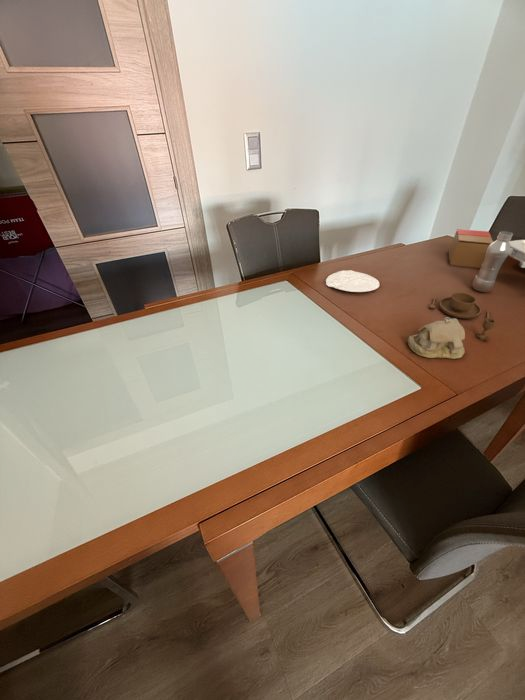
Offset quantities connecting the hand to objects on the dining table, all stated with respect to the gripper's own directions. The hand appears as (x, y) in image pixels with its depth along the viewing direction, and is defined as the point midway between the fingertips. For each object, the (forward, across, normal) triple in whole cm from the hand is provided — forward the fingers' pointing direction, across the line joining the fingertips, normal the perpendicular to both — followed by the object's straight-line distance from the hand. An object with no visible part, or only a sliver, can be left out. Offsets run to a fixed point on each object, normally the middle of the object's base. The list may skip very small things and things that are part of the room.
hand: (510, 258), depth 102 cm
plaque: (+49, +14, -11) cm, 52 cm away
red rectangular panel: (-6, +27, -1) cm, 28 cm away
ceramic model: (+40, -29, -11) cm, 50 cm away
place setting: (+24, -15, -11) cm, 31 cm away
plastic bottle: (+6, 0, -11) cm, 13 cm away
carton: (-4, +24, -11) cm, 27 cm away
